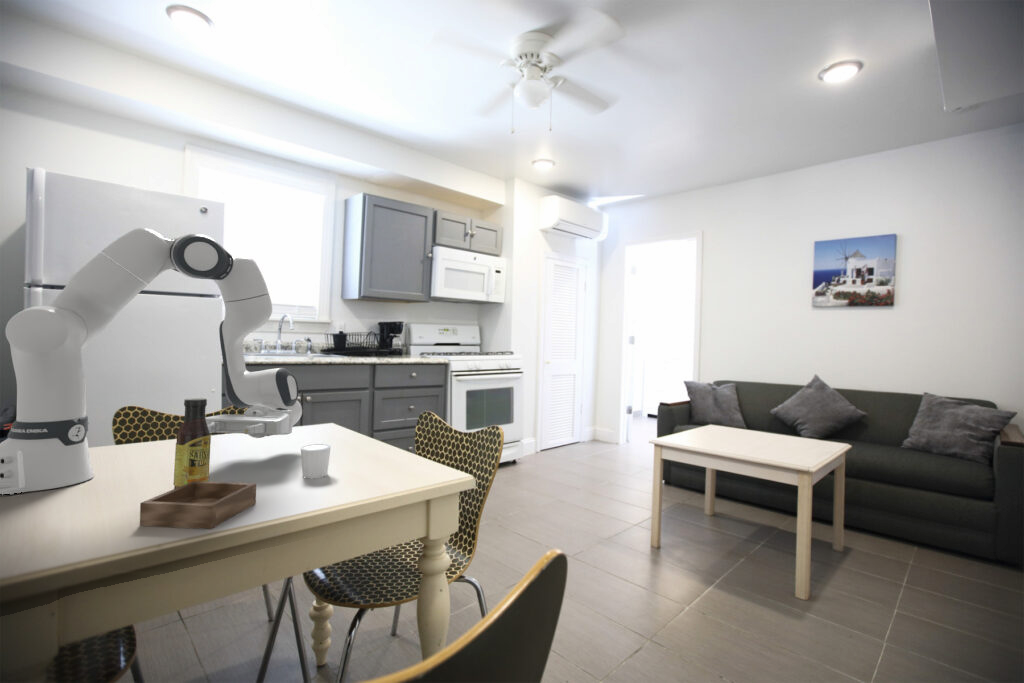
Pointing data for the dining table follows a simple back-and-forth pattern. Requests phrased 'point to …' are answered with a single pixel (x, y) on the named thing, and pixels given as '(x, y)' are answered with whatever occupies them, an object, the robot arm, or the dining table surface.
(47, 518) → the dining table surface
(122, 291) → the robot arm
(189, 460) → the sauce bottle
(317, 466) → the white cup
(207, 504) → the brown wooden tray
